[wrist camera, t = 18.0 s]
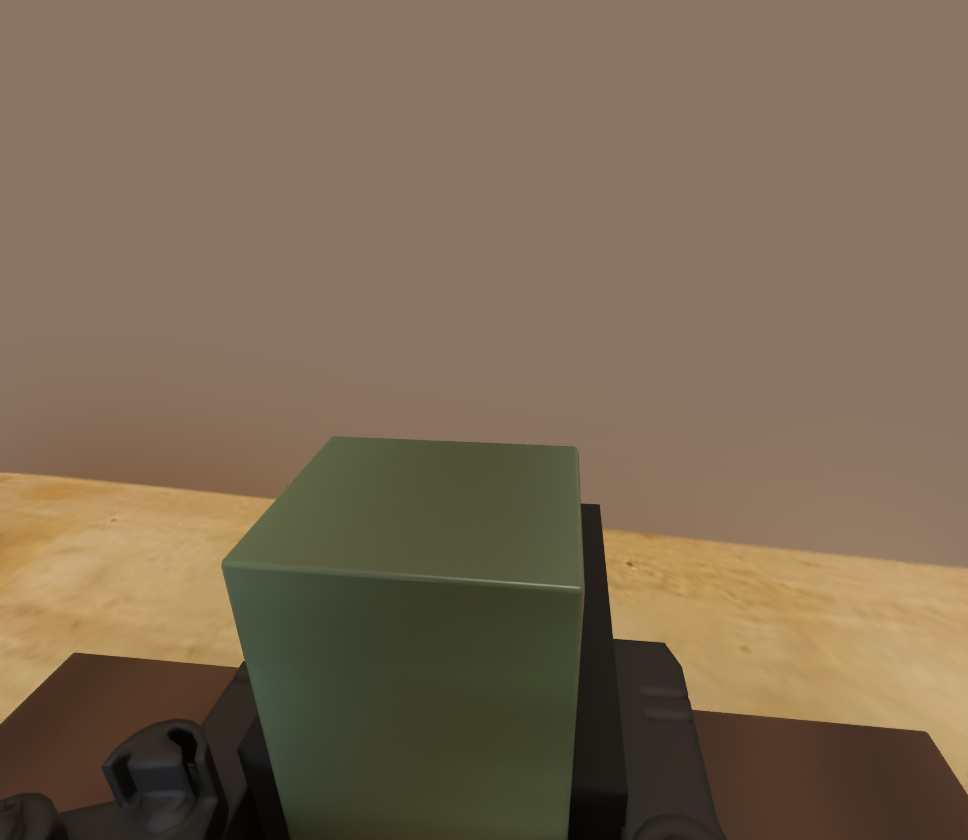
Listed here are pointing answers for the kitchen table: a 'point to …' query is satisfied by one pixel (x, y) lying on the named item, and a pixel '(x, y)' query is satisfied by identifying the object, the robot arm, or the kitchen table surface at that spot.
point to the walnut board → (722, 736)
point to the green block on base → (418, 639)
